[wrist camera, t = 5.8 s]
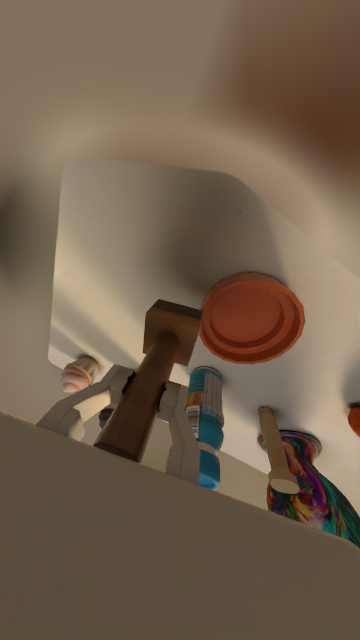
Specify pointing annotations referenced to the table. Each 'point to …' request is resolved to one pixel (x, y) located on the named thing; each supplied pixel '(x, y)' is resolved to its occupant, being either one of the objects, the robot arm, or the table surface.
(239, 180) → the table surface
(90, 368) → the cupcake
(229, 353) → the bowl
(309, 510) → the vase
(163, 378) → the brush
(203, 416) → the beverage bottle
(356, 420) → the fruit
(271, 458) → the handle
